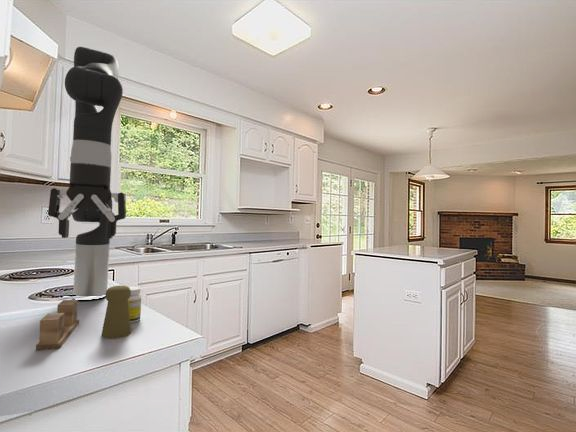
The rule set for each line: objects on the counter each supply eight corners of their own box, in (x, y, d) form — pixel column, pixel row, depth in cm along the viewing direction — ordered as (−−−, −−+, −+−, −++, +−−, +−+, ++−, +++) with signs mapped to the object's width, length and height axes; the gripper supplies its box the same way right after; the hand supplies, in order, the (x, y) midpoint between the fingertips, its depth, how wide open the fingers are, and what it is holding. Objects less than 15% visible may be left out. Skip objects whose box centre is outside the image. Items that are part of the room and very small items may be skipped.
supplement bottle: (117, 319, 82) (119, 287, 82) (136, 316, 86) (137, 285, 86) (123, 324, 79) (125, 291, 79) (143, 321, 82) (144, 288, 82)
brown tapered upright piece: (118, 340, 70) (120, 290, 70) (94, 336, 71) (97, 288, 71) (136, 330, 76) (138, 285, 76) (114, 327, 77) (116, 282, 77)
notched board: (59, 324, 77) (60, 300, 77) (78, 323, 78) (80, 299, 78) (35, 350, 63) (37, 320, 63) (59, 348, 64) (60, 319, 64)
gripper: (129, 169, 75) (126, 237, 75) (58, 162, 70) (55, 235, 70) (125, 165, 68) (121, 240, 68) (45, 158, 63) (42, 239, 63)
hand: (87, 237), depth 69 cm, fingers open, 8 cm apart
